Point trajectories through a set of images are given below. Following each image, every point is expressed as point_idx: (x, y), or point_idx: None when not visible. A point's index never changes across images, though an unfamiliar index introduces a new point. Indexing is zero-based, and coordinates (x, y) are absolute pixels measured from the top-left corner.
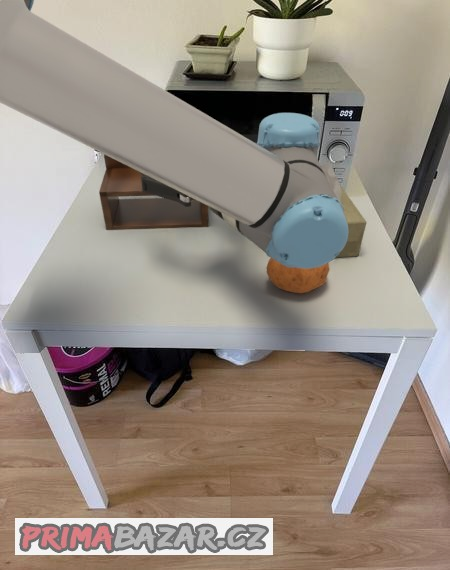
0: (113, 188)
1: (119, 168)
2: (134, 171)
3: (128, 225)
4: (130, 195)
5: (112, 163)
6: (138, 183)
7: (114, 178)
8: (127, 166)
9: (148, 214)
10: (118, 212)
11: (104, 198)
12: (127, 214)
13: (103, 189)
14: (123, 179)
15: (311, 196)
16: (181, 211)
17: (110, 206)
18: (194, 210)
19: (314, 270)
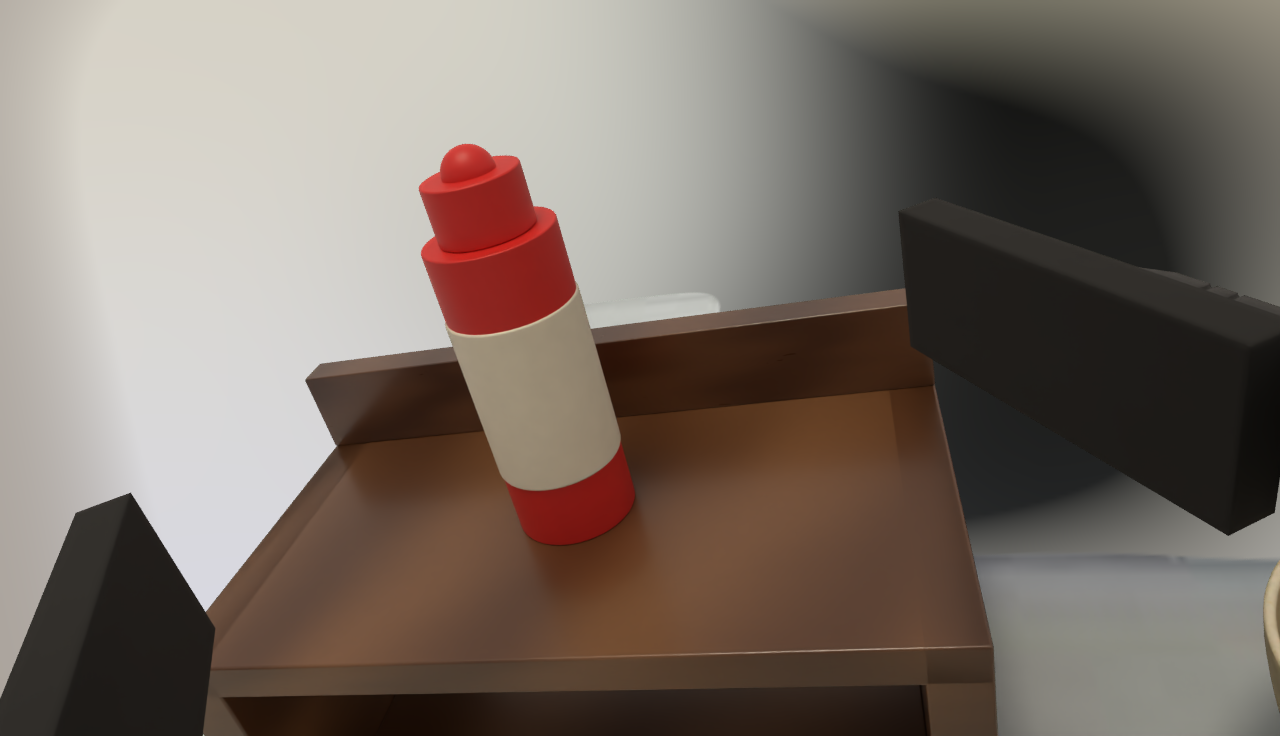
0: (266, 630)
1: (402, 440)
2: (470, 459)
3: None
4: (364, 690)
5: (360, 417)
6: (446, 573)
7: (331, 526)
8: (443, 426)
9: (569, 725)
10: (407, 698)
11: (207, 706)
12: (448, 719)
13: None
14: (376, 534)
15: None
16: (784, 701)
17: (289, 726)
18: (875, 692)
19: None
